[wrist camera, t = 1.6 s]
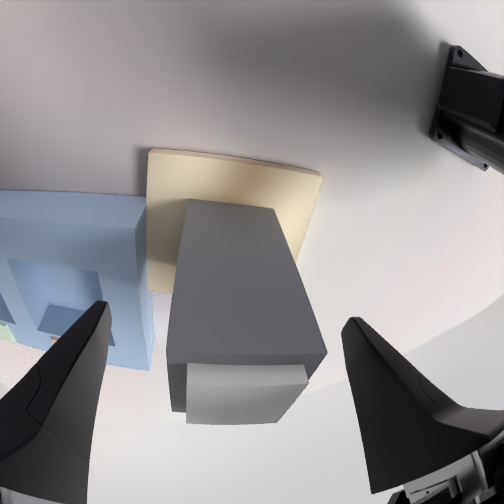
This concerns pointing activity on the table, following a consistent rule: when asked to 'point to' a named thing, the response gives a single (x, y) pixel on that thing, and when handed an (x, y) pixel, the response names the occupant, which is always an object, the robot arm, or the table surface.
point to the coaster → (218, 200)
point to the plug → (238, 319)
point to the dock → (75, 269)
